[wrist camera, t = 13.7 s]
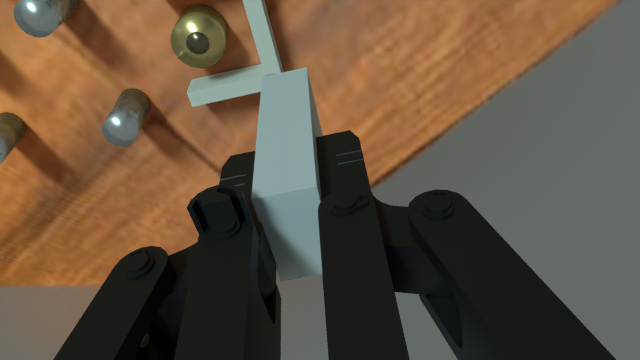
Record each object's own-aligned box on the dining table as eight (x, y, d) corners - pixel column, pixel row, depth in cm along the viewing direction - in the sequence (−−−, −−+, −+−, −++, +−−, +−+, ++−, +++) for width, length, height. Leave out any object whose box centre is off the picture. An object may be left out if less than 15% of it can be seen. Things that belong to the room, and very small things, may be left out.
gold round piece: (169, 10, 46) (162, 24, 43) (218, -2, 46) (214, 11, 43) (188, 58, 49) (182, 73, 46) (234, 47, 48) (231, 61, 46)
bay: (148, -31, 44) (141, -22, 42) (249, -56, 43) (247, -49, 41) (196, 93, 51) (192, 107, 48) (284, 73, 50) (284, 86, 48)
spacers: (-82, 12, 45) (-126, 36, 40) (91, -30, 44) (67, -12, 39) (7, 145, 53) (-21, 178, 48) (155, 112, 52) (142, 142, 47)
